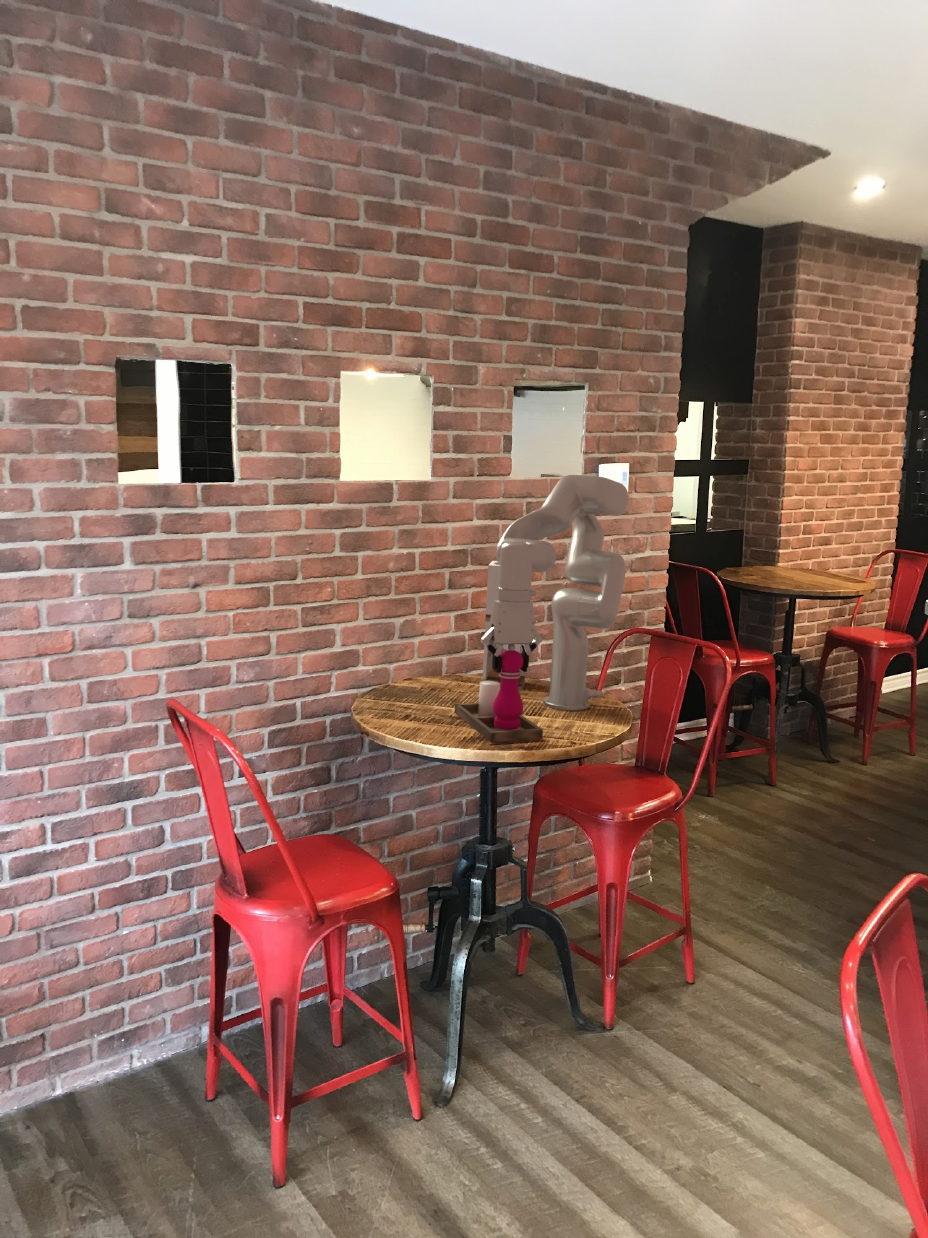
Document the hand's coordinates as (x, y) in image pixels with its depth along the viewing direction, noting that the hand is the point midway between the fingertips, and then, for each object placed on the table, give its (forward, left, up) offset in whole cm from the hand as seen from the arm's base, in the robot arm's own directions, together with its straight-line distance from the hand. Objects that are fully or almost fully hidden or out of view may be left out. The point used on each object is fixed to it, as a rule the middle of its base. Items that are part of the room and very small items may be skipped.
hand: (510, 670), depth 231 cm
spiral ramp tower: (-18, -46, -16) cm, 52 cm away
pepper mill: (0, 0, -14) cm, 14 cm away
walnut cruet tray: (0, -6, -16) cm, 17 cm away
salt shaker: (0, -12, -15) cm, 19 cm away
